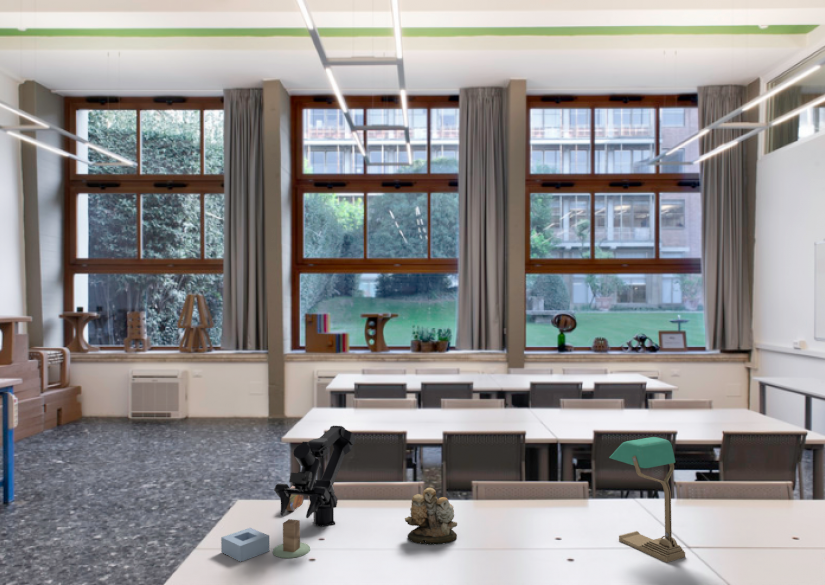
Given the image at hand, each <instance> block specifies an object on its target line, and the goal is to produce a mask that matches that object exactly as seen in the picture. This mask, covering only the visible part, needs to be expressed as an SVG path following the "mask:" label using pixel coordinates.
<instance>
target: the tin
mask: <svg viewBox="0 0 825 585" xmlns="http://www.w3.org/2000/svg"><path fill="white" fill-rule="evenodd" d="M290 488H294V489H295V487H294V486H293V485H292V486H290ZM289 499H290V501H289V504H288V506H287V508H286V511H288V512H295V511H296V510H297V509H298V508H299V507H300V506H301V505H302V504H303V503H304V501H305V495H294V494H291V497H289ZM297 507H298V508H297ZM296 508H297V509H296ZM295 509H296V510H295ZM294 510H295V511H294Z"/></svg>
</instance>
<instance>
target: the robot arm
mask: <svg viewBox="0 0 825 585" xmlns="http://www.w3.org/2000/svg"><path fill="white" fill-rule="evenodd" d="M355 442H356V437H355V435H354V433H352V432H351V431H350V430H348V429H346V428H345V427H344V426H342V425H332V426H330V428H329V429H328V430H326V432H324V434H322V435H321V436H320V437H319V438H313V439H311V440H309V441H302V443H301V444H299V445H297V446H296V447H295V448H294V450H293V456H294V458H295V459H296V461H297V462H298V464H299V466H301V470H300V471H298V472H290V475H289V481H288V483H290V484H291V483H292V484H291V485H292V486H294V487H295V489H294V488H291V486H289V485H288V484H287V483H276V485H275V486H274V488H273V491H274V493H276V495H277V496H278V498H280V499H279V500H280V515H281V516H282V517H283V516H284V514H285V513H286V511H287V510H286V508H287V506H288V504H289V501H290V499H289V497H291V494H294V495H304V497H305V496H307V497H308V498H309V506H308V508H307V511H306V514H305V518H306V519H309V518H310V517H311V516H312V515H313V520H312V521H313V522H314V524H315V525H316V526H317V527H319V528H321V527H324V526H326V527H327V526H330V525H335V524H336V521H335V520H334V518H335V516H334V511H335V510H334V508H337V507H338V506H337V505H338V500H339V499H338V497H337V495H336V493H335V489H334V484H335V481H336V479H337V475H338V473H339V470H340V468H341V465H342V464H343V461H344V458H345V456H346V455H347V454H348V453H349V452H351V451H352V449H353V447H354V445H355V444H356V443H355ZM331 446H332V448H333V450H332V452H331V455H330V457H329V459H328V462H327V464H326V466H325V469H324V472H323V474H322V477H321V479H316V478H317V476H318V473H319V469H322V464H321V461H320V460H319V459H324V458H326V456H328V454H329V450H330V449H329V448H330V447H331ZM318 458H319V459H318Z"/></svg>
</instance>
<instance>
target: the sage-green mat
mask: <svg viewBox="0 0 825 585" xmlns="http://www.w3.org/2000/svg"><path fill="white" fill-rule="evenodd" d="M310 551H311V545H309V544H308V543H305V542H301V541H300V548H299V549H298V550H296V551H295V552H287V551H283V543H280V544H279V545H277V546H275V547H274V548H273V549H272V553H273V556H276V557H278V558H281V559H294V558H300V557H302V556H305V555H306V554H308V553H310Z"/></svg>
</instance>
